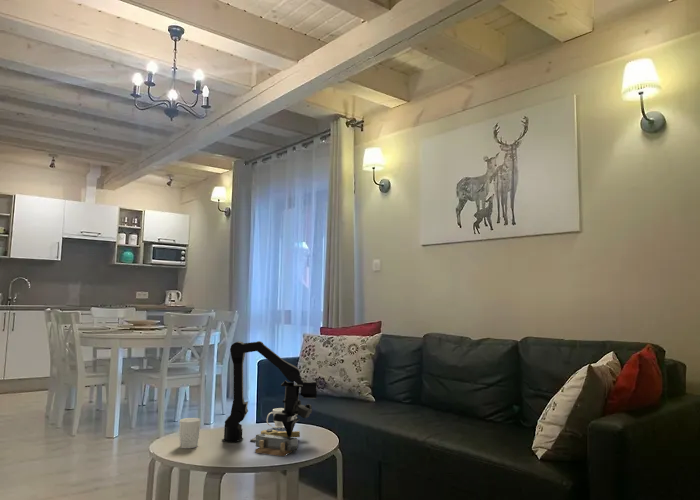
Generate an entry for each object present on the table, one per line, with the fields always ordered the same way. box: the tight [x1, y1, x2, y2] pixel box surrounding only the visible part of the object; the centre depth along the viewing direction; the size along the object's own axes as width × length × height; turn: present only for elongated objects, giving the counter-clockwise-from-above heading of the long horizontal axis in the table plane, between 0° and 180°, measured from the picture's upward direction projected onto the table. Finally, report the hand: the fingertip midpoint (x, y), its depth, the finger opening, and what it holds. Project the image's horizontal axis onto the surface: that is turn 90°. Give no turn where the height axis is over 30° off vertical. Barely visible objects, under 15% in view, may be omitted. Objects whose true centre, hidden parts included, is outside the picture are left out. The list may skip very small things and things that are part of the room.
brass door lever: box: [260, 429, 301, 438], centre depth 218 cm, size 16×7×3 cm, turn 99°
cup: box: [266, 407, 285, 429], centre depth 240 cm, size 7×10×8 cm
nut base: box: [250, 436, 256, 443], centre depth 217 cm, size 11×11×1 cm
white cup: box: [178, 417, 201, 449], centre depth 205 cm, size 8×8×10 cm
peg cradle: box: [255, 440, 293, 457], centre depth 200 cm, size 12×10×4 cm
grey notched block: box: [255, 433, 299, 452], centre depth 200 cm, size 18×4×4 cm, turn 69°
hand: (289, 436), depth 217 cm, fingers closed
